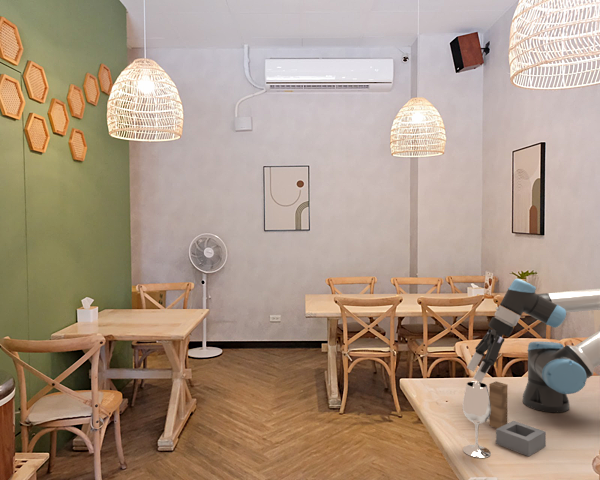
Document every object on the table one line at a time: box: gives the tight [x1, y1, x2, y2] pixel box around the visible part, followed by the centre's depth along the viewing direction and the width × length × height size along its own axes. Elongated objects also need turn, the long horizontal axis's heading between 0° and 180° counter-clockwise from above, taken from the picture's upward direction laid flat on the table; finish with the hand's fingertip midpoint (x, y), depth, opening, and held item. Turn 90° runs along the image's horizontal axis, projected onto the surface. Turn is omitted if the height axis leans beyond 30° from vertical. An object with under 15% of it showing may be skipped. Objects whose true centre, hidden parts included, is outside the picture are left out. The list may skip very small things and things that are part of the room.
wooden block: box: [488, 381, 508, 429], centre depth 153 cm, size 4×4×14 cm
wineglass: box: [462, 380, 492, 459], centre depth 136 cm, size 8×8×20 cm
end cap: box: [495, 420, 547, 457], centre depth 140 cm, size 10×10×4 cm
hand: (473, 374), depth 161 cm, fingers open, 13 cm apart
